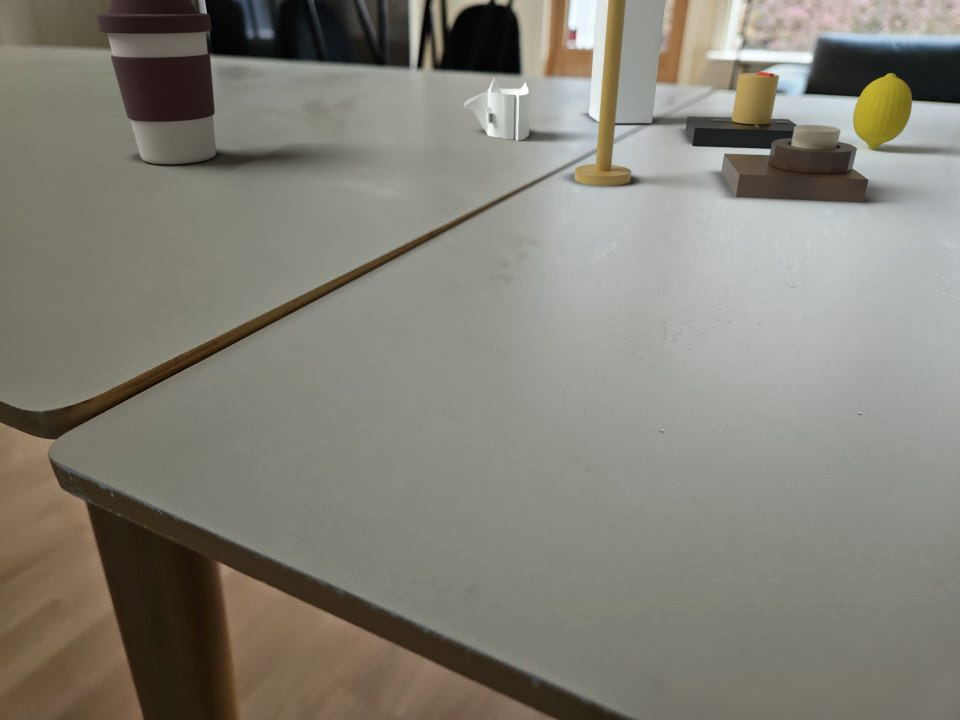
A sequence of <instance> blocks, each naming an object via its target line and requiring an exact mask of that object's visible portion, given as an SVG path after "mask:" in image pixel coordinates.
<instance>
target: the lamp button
mask: <svg viewBox="0 0 960 720" xmlns="http://www.w3.org/2000/svg"><path fill="white" fill-rule="evenodd" d="M797 125H798V126H795V127H794V131H793V137H792V142H791V146H795V147H800V148H808V149H824V150H829V149H837V144H838V142H839V141H840V140H839V139H840V134H841V128H839V127H835V126H830V125H822V124H820V125H819V124H797Z"/></svg>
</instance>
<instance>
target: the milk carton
mask: <svg viewBox="0 0 960 720" xmlns="http://www.w3.org/2000/svg"><path fill="white" fill-rule="evenodd" d="M665 8H666V0H626V4H625V15H624V27H623V38H622V50H621V61H620V73H619V84H618V96H617V107H616V119H615V124H652V123H653V120H654V119H653V117H654V109H655V101H656V100H655V99H656V91H657V82H658V71H659V63H660V54H661V44H662V36H663V35H662V34H663V27H664V16H665ZM607 12H608V0H596V7H595V20H594V21H595V22H594V38H593V50H592V51H593V54H592V66H591V77H590V79H591V80H590V92H589V93H590V95H589V107H588V108H589V110H588V116H589V117H591V118H592V119H593V120H595V121H596V122H598V123H599V116H600V103H601V90H602V77H603V64H604V51H605V38H606V25H607Z"/></svg>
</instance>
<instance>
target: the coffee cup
mask: <svg viewBox="0 0 960 720" xmlns="http://www.w3.org/2000/svg"><path fill="white" fill-rule="evenodd" d="M96 21H97V26H98V30H99V32H100V33H104V34H105V33H106V35H107V38H108V42H109V46H110V50H111V53H112V55H110V59H111V63H112V66H113V70H114V74H115V78H116V80H117V85H118V88H119V92H120V95H121V99H122V102H123V106H124V111H125V113H126V117H127V118H128V119H129V120H130V124H131V127H132V130H133V134H134V138H135V143H136V145H137V149H138V154H139V156H140V159H141V160H143V161H144V162H146V163H149V164H155V165H185V164H194V163H199V162H204V161H208V160H210V159H212V158H214V157H215V156H216V153H217V147H216V146H217V145H216V135H215V122H214V115H215V112H216V110H215V98H214V96H215V95H214V83H213V72H212V60H211V54H210V53H209V52H208V43H207V32H211V31H212V29H213V28H212V23H211V22H212V21H211V16H210V14H209V13H205V12H204V13H203V12H198V10H197V8H196V6H195V4H194V3H193V1H192V0H110V1H109V6H108V11H107V12H104V13H103V12H102V13H97V14H96Z"/></svg>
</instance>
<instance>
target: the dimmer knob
mask: <svg viewBox="0 0 960 720" xmlns="http://www.w3.org/2000/svg"><path fill="white" fill-rule="evenodd" d="M779 79H780V75H779V74H775V73H773V72H766V71H757V72H741V73H739V74H738V77H737V84H736V89H735V95H734V96H735V97H734V102H733V108H732V109H733V110H732V115H731V117H732V121H733V122H736V123H741V124H753V125H763V124H769V123H771V119H773V118H772V117H773V112H774V107H775V101H776V96H777V90H778V86H779V85H778V84H779Z"/></svg>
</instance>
